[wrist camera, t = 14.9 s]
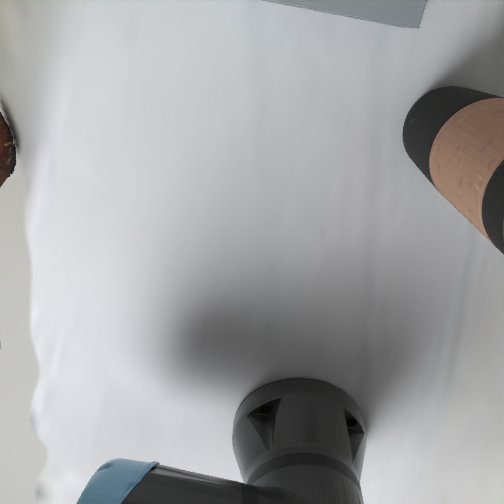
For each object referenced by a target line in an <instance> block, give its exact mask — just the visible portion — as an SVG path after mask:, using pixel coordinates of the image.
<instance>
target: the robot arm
mask: <svg viewBox="0 0 504 504" xmlns="http://www.w3.org/2000/svg"><path fill="white" fill-rule="evenodd" d="M0 348H1V345H0ZM232 443H233V450H234V454H235V457H236V460H237V463H238V466H239V469H240V472H241V475H242V478H243V482H244V483H240V482H237V481H232V480H227V479H223V478H218V477H213V476H208V475H204V474H199V473H194V472H190V471H185V470H181V469H176V468H172V467H168V466H164V465H160V463H158V462H155V461H153V462H151V463H148V462H141V461H134V460H128V459H122V458H119V459H113V460H110V461H108V462H106V463H105V464H103V465H102V466H101V467H100V468H99V469H98V470H97V471H96V472H95V474H94V475H93V476H92V478H91V479H90V481H89V482H88V484H87V486H86V487H85V489H84V491H83V492H82V494H81V496H80V498H79V500H78V502H77V504H364V502H363V498H362V493H361V488H360V477H361V472H362V466H363V460H364V454H365V448H366V432H365V427H364V423H363V418H362V415H361V412H360V410H359V408H358V406H357V405H356V403H355V402H354V401H353V400H352V399H351V398H350V397H349V396H348V395H347V394H346V393H345V392H343V391H342V390H340V389H339V388H337V387H335V386H333V385H330V384H328V383H325V382H322V381H318V380H312V379H286V380H281V381H276V382H273V383H270V384H268V385H265V386H263V387H261V388H259V389H258V390H256V391H254V392H253V393H252V394H250V395H249V396H248V397H247V398H246V399H245V400H244V401H243V402H242V404H241V405H240V407H239V408H238V410H237V412H236V415H235V418H234V423H233V436H232Z"/></svg>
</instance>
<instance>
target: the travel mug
mask: <svg viewBox="0 0 504 504" xmlns="http://www.w3.org/2000/svg"><path fill="white" fill-rule="evenodd" d="M403 143H404V147H405V149H406V152H407V153H408V155H409V157H410V158H411V159H412V161H413V162H414V163H415V164H416V166H417V167H418V168H419V169H420V170H421V171H422V173H423V174H424V175H425V176H426V177H427V178H428V180H429V181H430V182H431V183H432V184H433V185H434V187H435V188H436V189H437V190H438V191H439V192H440V193H441V194H442V195H443V196H444V197H445V198H446V199H447V200H448V201H449V202H450V203H451V204H452V205H453V206H454V207H455V208H456V209H457V210H458V211H459V212H460V213H461V214H462V215H463V216H464V217H466V218H467V219H468V220H469V221H470V222H471V223H472V224H473V225H474V226H475V227H476V228H477V229H478V230H479V231H480V232H481V233H482V234H483V235H484V236H485V237H486V238H487V239H488V240H489V241H490V242H491V243H492V244H494V245H495V246H496V247H497V248H498V249H499V250H500V251H501V252H502V253H503V254H504V98H503V97H499V96H496V95H492V94H488V93H484V92H480V91H476V90H472V89H468V88H463V87H456V86H449V87H442V88H439V89H436V90H433V91H431V92H429V93H428V94H426V95H424V96H423V97H422V98H421V99H419V100H418V101H417V102H416V103H415V104H414V106H413V107H412V108H411V110H410V112H409V113H408V115H407V117H406V120H405V123H404V127H403Z"/></svg>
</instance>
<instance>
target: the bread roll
mask: <svg viewBox="0 0 504 504" xmlns="http://www.w3.org/2000/svg"><path fill="white" fill-rule="evenodd" d="M15 149H16V148H15V144H13V137H12V135H11V131H10V129H9V127H8V124H7V123H6V121H5V119H4V117H3V116H2V114H1V112H0V187H1V186H2V184H3V183H4V182H5V180H6V178H8V177H10V174H13V172H14V168H15V165H16V150H15Z"/></svg>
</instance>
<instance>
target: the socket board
mask: <svg viewBox="0 0 504 504" xmlns="http://www.w3.org/2000/svg"><path fill="white" fill-rule="evenodd" d="M264 1H269V2H274V3H279V4H284V5H289V6H295V7H300V8H305V9H310V10H315V11H320V12H326V13H331V14H336V15H341V16H346V17H352V18H357V19H362V20H367V21H372V22H377V23H383V24H388V25H393V26H398V27H409V28H419V26H420V22H421V19H422V16H423V12H424V9H425V5H426V2H427V0H264Z"/></svg>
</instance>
